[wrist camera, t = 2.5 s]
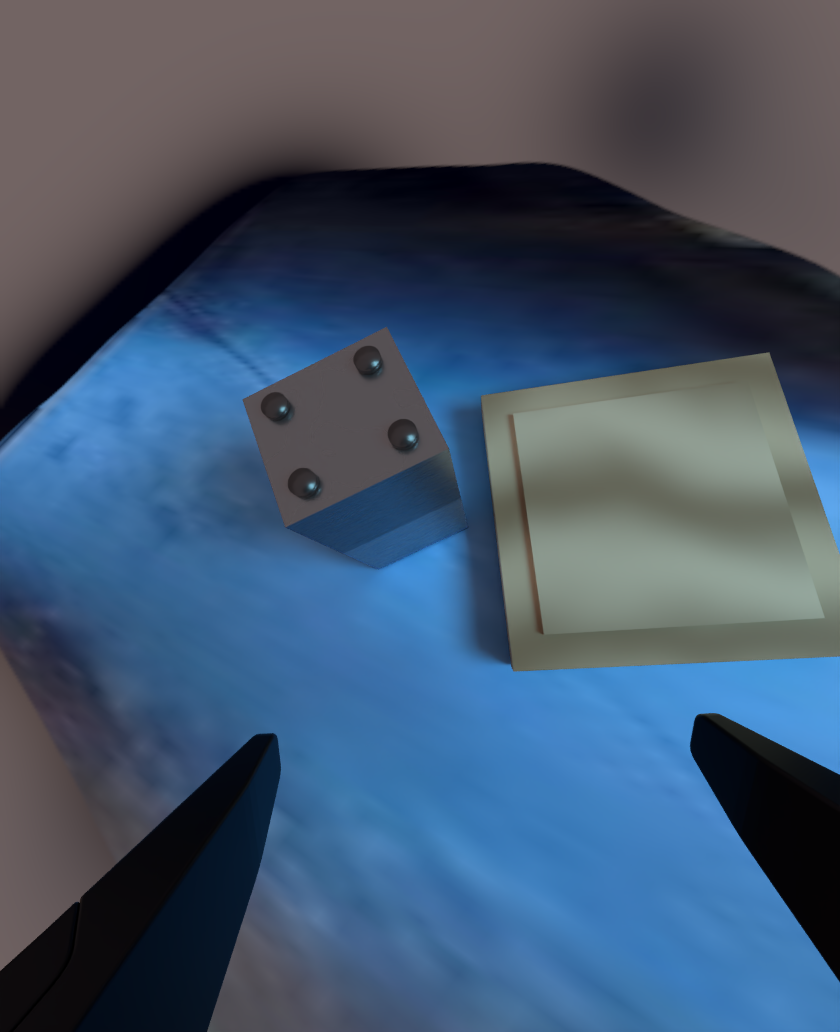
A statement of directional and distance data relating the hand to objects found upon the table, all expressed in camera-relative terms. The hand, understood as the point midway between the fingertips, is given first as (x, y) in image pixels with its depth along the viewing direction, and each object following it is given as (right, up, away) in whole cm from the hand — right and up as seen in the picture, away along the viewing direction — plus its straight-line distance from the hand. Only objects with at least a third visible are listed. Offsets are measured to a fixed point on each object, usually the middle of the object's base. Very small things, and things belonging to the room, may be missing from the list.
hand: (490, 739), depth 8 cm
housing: (-2, +5, +14) cm, 15 cm away
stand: (+9, +5, +12) cm, 16 cm away
